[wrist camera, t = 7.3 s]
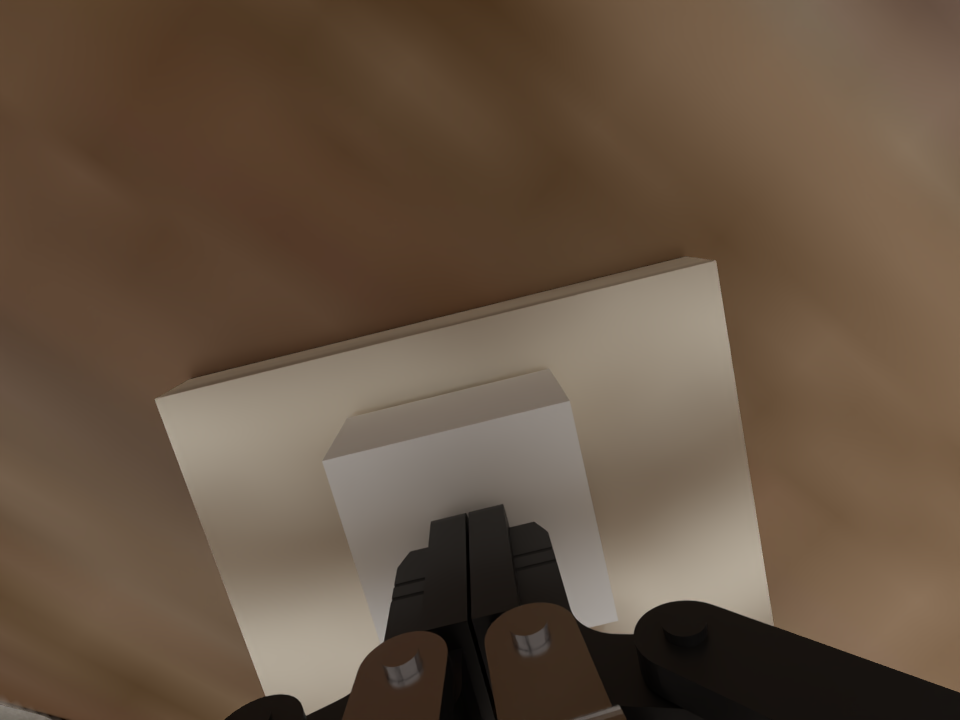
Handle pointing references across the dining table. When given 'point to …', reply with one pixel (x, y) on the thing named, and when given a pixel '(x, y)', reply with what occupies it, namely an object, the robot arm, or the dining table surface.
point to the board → (456, 366)
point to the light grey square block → (468, 483)
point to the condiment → (18, 714)
